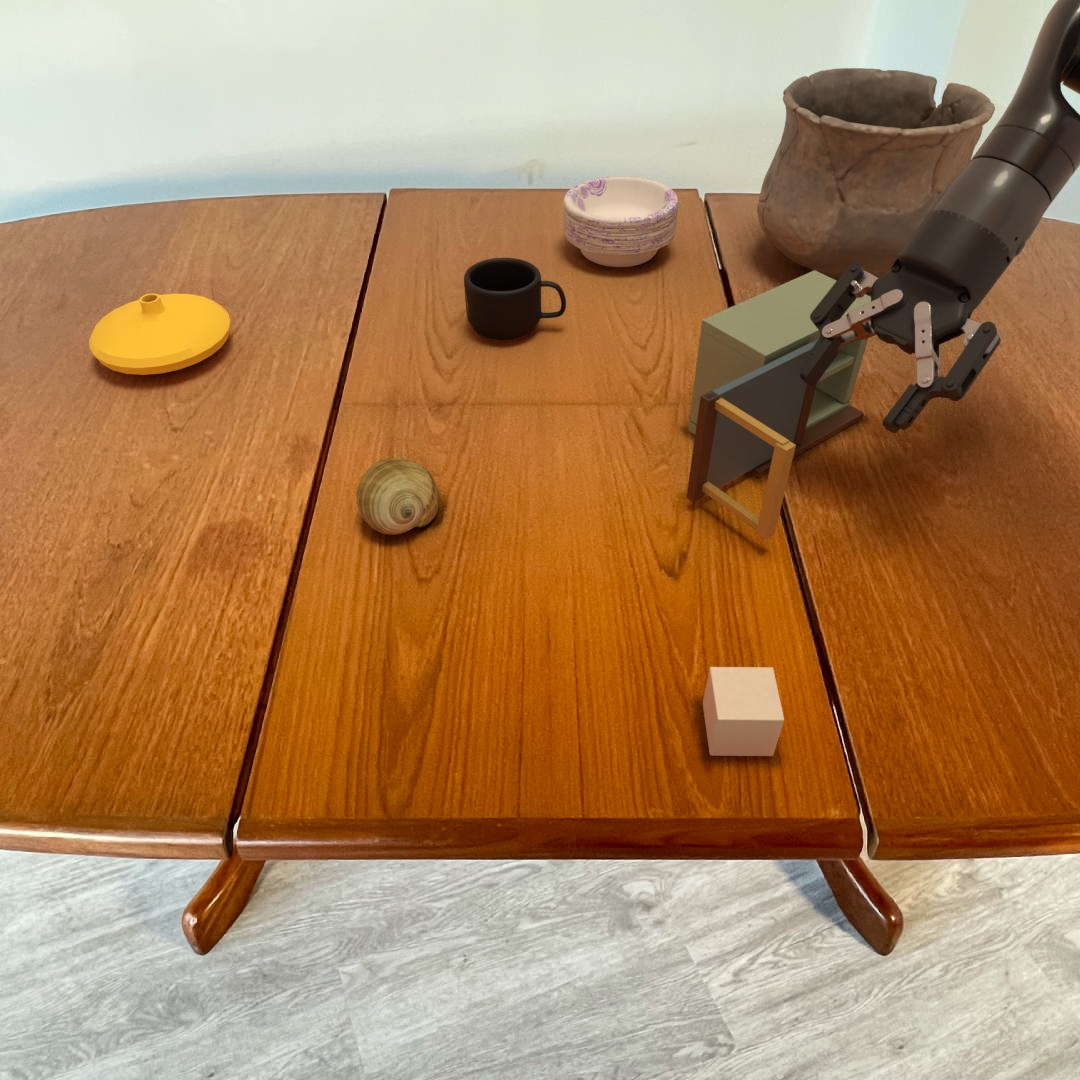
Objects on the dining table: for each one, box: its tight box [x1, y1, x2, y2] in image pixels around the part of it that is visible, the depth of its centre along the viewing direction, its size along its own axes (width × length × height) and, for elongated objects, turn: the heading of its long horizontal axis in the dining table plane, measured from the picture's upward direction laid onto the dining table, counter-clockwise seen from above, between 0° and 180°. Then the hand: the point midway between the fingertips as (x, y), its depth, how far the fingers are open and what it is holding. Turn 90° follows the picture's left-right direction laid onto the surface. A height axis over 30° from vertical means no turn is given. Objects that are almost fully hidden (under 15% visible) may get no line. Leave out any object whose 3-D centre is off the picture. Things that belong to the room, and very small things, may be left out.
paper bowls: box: [562, 176, 679, 268], centre depth 118 cm, size 15×15×8 cm
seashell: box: [356, 457, 440, 536], centre depth 82 cm, size 10×7×8 cm
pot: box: [756, 67, 996, 280], centre depth 110 cm, size 25×24×21 cm
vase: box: [88, 293, 232, 376], centre depth 102 cm, size 16×16×7 cm
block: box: [702, 666, 785, 757], centre depth 64 cm, size 5×5×5 cm
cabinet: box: [687, 270, 871, 479], centre depth 88 cm, size 10×16×13 cm, turn 127°
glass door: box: [686, 338, 819, 541], centre depth 79 cm, size 9×15×12 cm, turn 127°
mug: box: [463, 257, 567, 341], centre depth 104 cm, size 12×9×7 cm
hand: (845, 404), depth 73 cm, fingers open, 8 cm apart
